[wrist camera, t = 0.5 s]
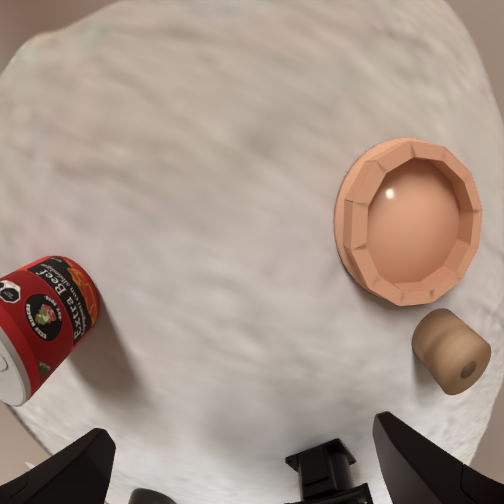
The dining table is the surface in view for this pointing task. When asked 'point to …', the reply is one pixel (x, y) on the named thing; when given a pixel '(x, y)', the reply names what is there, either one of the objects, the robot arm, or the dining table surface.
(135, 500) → the supplement bottle
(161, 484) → the dining table surface
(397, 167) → the dish
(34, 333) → the canned food
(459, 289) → the dining table surface
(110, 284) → the dining table surface
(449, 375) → the bead
